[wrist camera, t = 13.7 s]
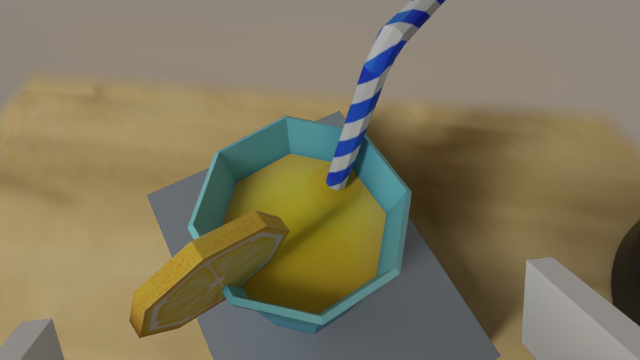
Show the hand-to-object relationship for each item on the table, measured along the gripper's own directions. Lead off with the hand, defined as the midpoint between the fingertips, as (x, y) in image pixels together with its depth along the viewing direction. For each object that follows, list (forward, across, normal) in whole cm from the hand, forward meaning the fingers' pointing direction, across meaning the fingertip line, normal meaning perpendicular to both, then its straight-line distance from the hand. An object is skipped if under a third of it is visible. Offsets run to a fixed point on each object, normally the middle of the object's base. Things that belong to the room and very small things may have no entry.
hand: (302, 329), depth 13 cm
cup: (+12, +1, -5) cm, 13 cm away
